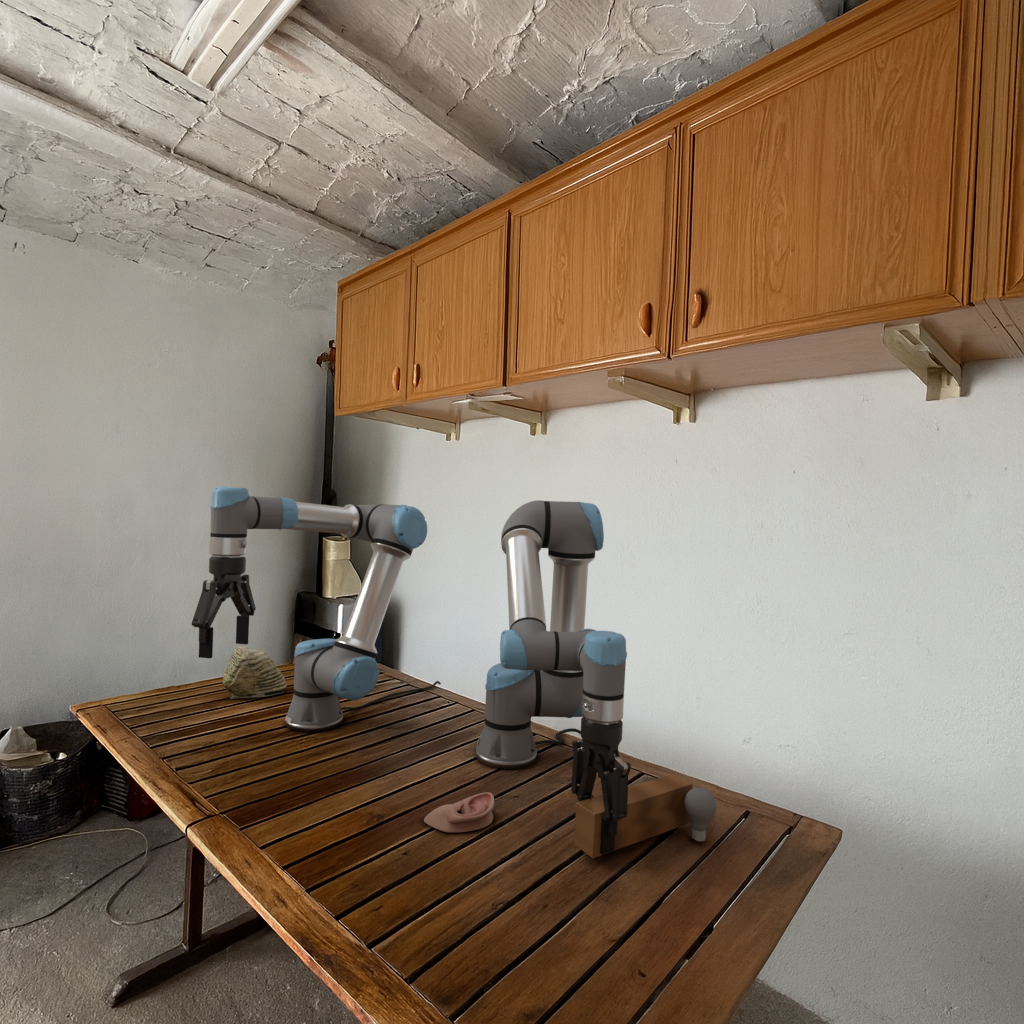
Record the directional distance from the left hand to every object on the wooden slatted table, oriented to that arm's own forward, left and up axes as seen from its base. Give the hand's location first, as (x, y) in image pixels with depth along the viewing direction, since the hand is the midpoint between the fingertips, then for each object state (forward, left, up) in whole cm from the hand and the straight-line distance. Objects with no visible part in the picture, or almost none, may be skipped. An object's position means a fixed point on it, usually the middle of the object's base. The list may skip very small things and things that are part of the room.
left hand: (224, 650), depth 142 cm
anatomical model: (-22, +53, -28) cm, 64 cm away
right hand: (-30, +80, -26) cm, 89 cm away
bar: (-39, +83, -26) cm, 95 cm away
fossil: (-34, -46, -28) cm, 64 cm away
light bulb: (-48, +92, -28) cm, 108 cm away
